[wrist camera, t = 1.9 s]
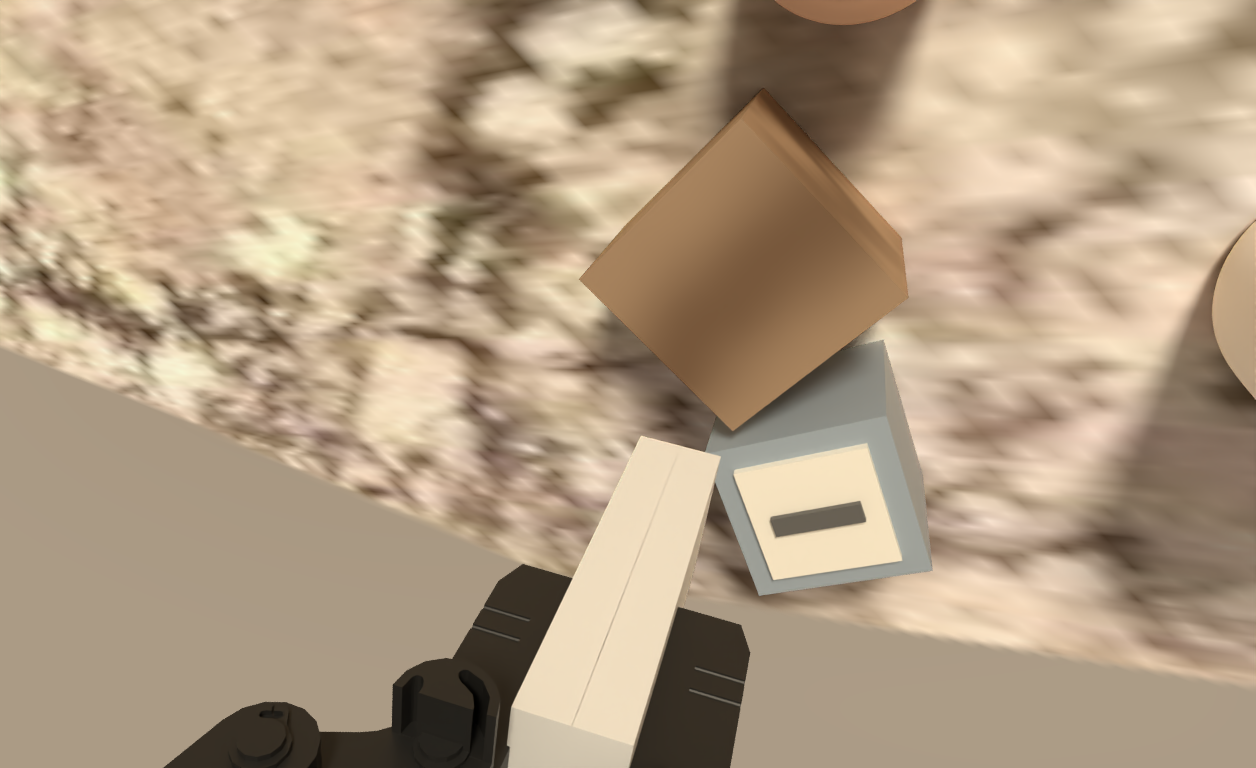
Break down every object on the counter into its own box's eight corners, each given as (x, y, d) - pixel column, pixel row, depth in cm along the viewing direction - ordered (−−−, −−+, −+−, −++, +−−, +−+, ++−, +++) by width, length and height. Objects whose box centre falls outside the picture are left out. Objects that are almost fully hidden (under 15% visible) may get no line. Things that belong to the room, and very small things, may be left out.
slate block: (729, 376, 34) (701, 462, 29) (883, 338, 32) (886, 423, 26) (774, 501, 36) (757, 604, 31) (922, 474, 34) (933, 580, 28)
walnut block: (625, 225, 32) (578, 279, 27) (763, 87, 29) (741, 118, 24) (753, 355, 34) (732, 431, 28) (901, 236, 30) (908, 297, 25)
